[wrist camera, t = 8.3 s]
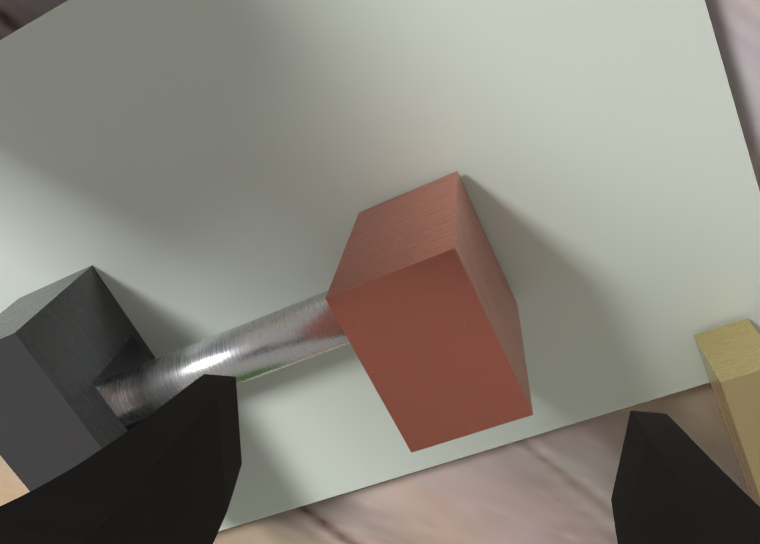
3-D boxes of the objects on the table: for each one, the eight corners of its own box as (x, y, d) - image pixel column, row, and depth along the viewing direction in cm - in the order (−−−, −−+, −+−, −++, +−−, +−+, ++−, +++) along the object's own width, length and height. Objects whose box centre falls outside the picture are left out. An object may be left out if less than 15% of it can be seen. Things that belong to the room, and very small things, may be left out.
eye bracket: (18, 298, 23) (-70, 369, 19) (92, 264, 22) (14, 332, 18) (150, 477, 25) (96, 571, 22) (220, 453, 25) (176, 547, 21)
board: (-174, 149, 22) (-201, 158, 21) (603, -307, 16) (612, -323, 15) (132, 541, 28) (121, 560, 27) (791, 336, 21) (806, 353, 21)
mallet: (1, 363, 24) (-116, 471, 19) (457, 171, 19) (455, 247, 14) (78, 462, 25) (-13, 585, 20) (517, 304, 21) (533, 414, 16)
